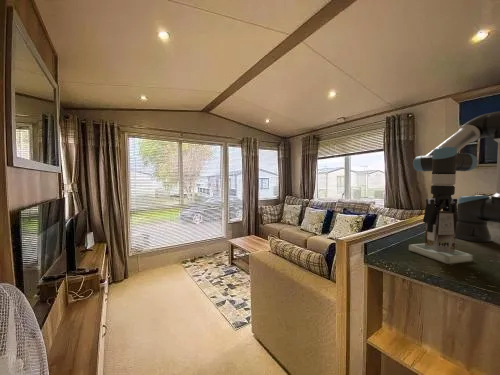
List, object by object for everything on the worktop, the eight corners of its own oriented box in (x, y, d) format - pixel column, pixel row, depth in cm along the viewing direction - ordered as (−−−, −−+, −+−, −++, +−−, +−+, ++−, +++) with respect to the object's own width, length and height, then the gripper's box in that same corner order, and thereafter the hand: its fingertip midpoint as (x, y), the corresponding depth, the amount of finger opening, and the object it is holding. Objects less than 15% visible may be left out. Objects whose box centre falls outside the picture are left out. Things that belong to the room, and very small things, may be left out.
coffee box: (455, 253, 89) (458, 213, 89) (436, 252, 91) (439, 212, 90) (440, 246, 98) (443, 209, 97) (424, 245, 100) (426, 209, 99)
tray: (431, 248, 104) (431, 242, 104) (472, 261, 88) (473, 255, 88) (408, 250, 101) (408, 244, 101) (447, 264, 85) (447, 257, 85)
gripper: (452, 184, 99) (449, 235, 100) (413, 184, 94) (410, 238, 95) (472, 185, 92) (468, 240, 93) (431, 185, 87) (428, 243, 88)
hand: (439, 239), depth 94 cm, fingers closed on coffee box, 8 cm apart
